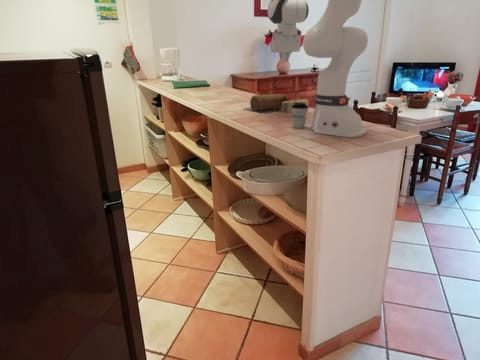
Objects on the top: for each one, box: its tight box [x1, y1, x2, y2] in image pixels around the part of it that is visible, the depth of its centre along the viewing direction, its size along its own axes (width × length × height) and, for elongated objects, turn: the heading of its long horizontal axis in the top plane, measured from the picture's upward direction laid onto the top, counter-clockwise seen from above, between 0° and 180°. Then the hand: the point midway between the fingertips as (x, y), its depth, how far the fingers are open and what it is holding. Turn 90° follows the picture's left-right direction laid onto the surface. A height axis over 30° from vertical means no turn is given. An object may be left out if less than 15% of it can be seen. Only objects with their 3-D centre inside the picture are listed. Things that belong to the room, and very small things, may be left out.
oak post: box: [280, 98, 309, 114], centre depth 182 cm, size 5×5×15 cm
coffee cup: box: [291, 103, 309, 129], centre depth 145 cm, size 7×7×10 cm
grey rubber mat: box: [242, 106, 281, 114], centre depth 187 cm, size 16×20×1 cm
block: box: [249, 93, 289, 110], centre depth 182 cm, size 11×8×20 cm
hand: (285, 62), depth 171 cm, fingers closed
